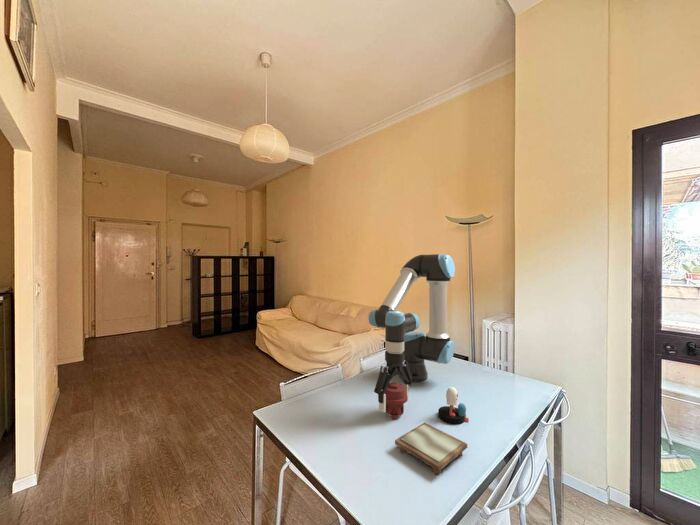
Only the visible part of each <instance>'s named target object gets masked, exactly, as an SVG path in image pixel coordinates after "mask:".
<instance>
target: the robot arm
mask: <svg viewBox="0 0 700 525" xmlns="http://www.w3.org/2000/svg"><path fill="white" fill-rule="evenodd" d="M399 272H400V273H399V276H398V277H397V279H396V281H395V283H394V284H393V286H392V287H391V289H390V290H389V292H388V294H387V295H386V296H385V298H384V300H383V302H381V305H380V306H379V308H378V309H373V310H371V311H370V312H369V313H368V322H369V325H370V326H371V327H376V328H378V329H379V328H381V329H385V330H384V331H385V332H384V333H385V337H384V340H385V344H384V346H385V347H384V348H385V352H384V360H385V362H386V365H385V366H383V365H381V366H380V368H379V374H378V377H377V381H376V384H375V386H374V390H373V392H374V393H375V394H377V395H378V396H377V399H378V400H377V401H378V410H379V411H381V412H383V413H386V394H384V393H385V391H386V389H387V387H388V384H389V383H391V380H392V379H393V378H394V377H396V376H398V377H399V378H400V379H401V381H402V383H401V384H402V385H403V386H405V393H406V394H407V396H408V397H409V391H410V386H411V385H412V382H414V383H415V382H416V383H417V382H424V381H427V379H428V375H429V374H428V371H427V368H426V363H425V361H429V362H434V363H437V364H442V365H448V364H449V363H450V362H451V361H452V359H453V357H454V353H455V350H456V349H455V348H456V346H455V342H454V341H453V340H452V339H451V336H450V334H449V333H448V284H449V283H450V282H451V279H452V278H454V277H455V273H456V267H455V263H454V260H453V257H451V256H450V255H449V254H444V253H443V254H442V253H438V254H433V253H432V254H418V255H416V256H414V257H412V258H411V259H409V260H408V261H407V262H406V263H405V264H404V265H403V266H402V268H401V269H400V270H399ZM419 278H426V283H428V285H429V288H428V289H429V290H428V293H429V294H428V296H429V297H428V299H429V300H428V302H429V304H428V307H429V308H428V311H429V312H428V313H429V314H428V319H429V320H428V327H429V329H428V332H426V334H425V333H424V332H423V331H416V330H418V328H419V327H420V324H421V321H420V318H419V316H418V315H417V314H416V313H414V312H408V313H405V312H403V311H398V309H399V307H400V306H401V304H402V303H403V300H404V299H405V298H406V295H407V294H408V292H409V290H410V289H411V287H412V286H413V284H414V283H415V282H417V280H418V279H419ZM407 402H409V399H408V400H407ZM407 402H406V403H407Z"/></svg>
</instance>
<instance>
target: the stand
mask: <svg viewBox="0 0 700 525" xmlns="http://www.w3.org/2000/svg"><path fill="white" fill-rule="evenodd" d="M394 444H395V446H398V447H399V451H400V452H401V453H403V454H407V453H409V454H411V455H413V456H414V457H416V458H417V459H418V460H420V461H422V462H424V463H425V464H427V465H428V466H430V467H431V468H432V472H433V474H435V475H440V474H441V473H442V469H444V468H445V467H446V466H447V465H449V464H450V463H451V462H452V461H453V460H454V459H456V458H457V457H462V456H463V452H464V451H465V450H466V449H467V448H468V443H467V442H465V441H463V440H460V439H459V438H457V437H455V436H453V435H450V434H449V433H447V432H445V431H442V430H441V429H438V428H437V427H434V426H433V425H430V424H428V423H427V422H426V421H425V422H423V423H421V424H420V425H418V426H416V427H414V428H413V429H411V430H410V431H408V432H406V433H405V434H403V435H401V436H399V437H398V438H397V439H394Z"/></svg>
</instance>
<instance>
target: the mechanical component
mask: <svg viewBox="0 0 700 525" xmlns="http://www.w3.org/2000/svg"><path fill="white" fill-rule="evenodd" d="M384 394H386V412H385V413H386V414H387V415H389V416H391V418H392V420H394V421H396V420H397V418H399V417H400V416H402V415H404V410H405V408H404V406H405V404H406V403H407V400H408V401H409V395H408V396H407V394H406V393H405V386H403V385H402V383H398V382H389V384H388V387H387V389H386V391H385V393H384Z"/></svg>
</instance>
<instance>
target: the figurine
mask: <svg viewBox="0 0 700 525" xmlns="http://www.w3.org/2000/svg"><path fill="white" fill-rule="evenodd" d="M445 395H446V396H445V399H446V405H443V406H441V407H439V408H438V413H437V415H438V419H439V420H440V421H441V422H443V423H445V424H448V425H452V426H453V425H455V426H456V425H458V426H459V425H463V424H464V423H465V422H470V420H469V417H467V412H466V411H467V407H466V405H465V404H464V403H461V402H460V403H459V402H458V401H459V393H458V391H457V389H456V388H455V387H453V386H449V387H448V388H447V390H446V394H445ZM458 403H459V404H458ZM455 406H457V407H455Z"/></svg>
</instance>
